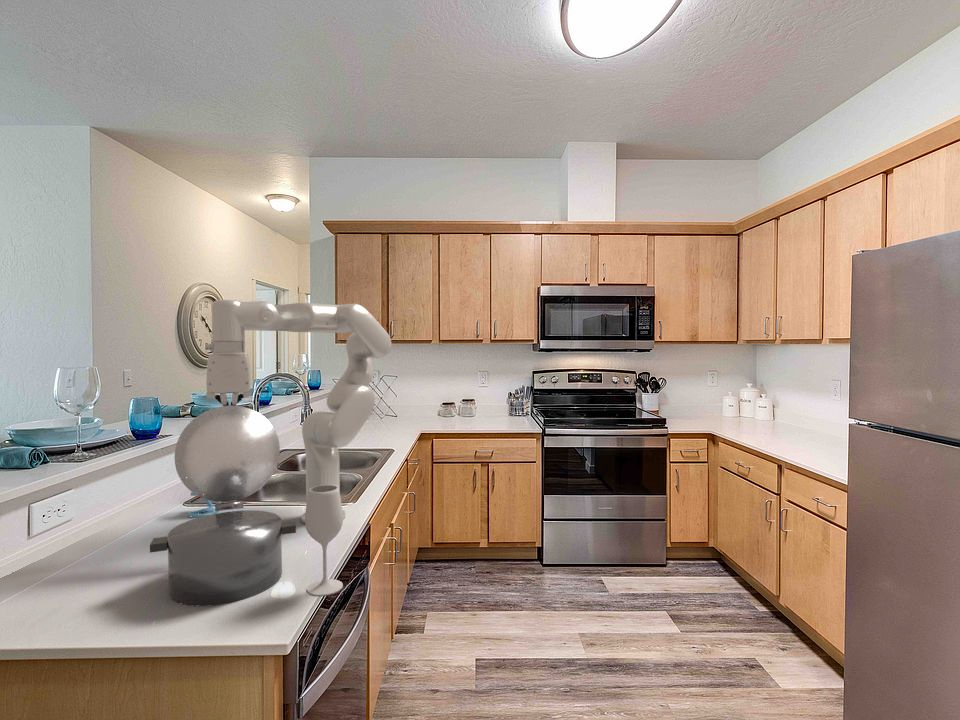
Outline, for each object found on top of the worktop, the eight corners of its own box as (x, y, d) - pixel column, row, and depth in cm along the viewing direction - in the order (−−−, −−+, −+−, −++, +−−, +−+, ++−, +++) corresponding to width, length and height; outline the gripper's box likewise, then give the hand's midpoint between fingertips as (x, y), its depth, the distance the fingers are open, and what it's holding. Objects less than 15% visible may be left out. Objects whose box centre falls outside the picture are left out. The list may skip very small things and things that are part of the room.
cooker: (161, 572, 118) (160, 519, 118) (292, 552, 129) (292, 504, 129) (142, 618, 98) (140, 554, 98) (299, 590, 109) (298, 533, 109)
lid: (173, 516, 119) (175, 515, 123) (281, 503, 128) (280, 503, 132) (175, 407, 124) (177, 409, 128) (278, 403, 133) (278, 405, 137)
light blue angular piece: (227, 509, 165) (227, 471, 164) (210, 518, 156) (209, 478, 156) (205, 508, 166) (204, 471, 166) (187, 517, 158) (186, 477, 157)
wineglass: (305, 598, 105) (303, 494, 105) (307, 582, 113) (305, 485, 112) (344, 593, 107) (342, 491, 107) (343, 578, 115) (342, 482, 114)
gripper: (193, 348, 127) (195, 424, 128) (260, 348, 133) (261, 420, 134) (197, 348, 134) (198, 420, 135) (260, 348, 140) (261, 417, 140)
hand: (229, 420), depth 134 cm, fingers closed
